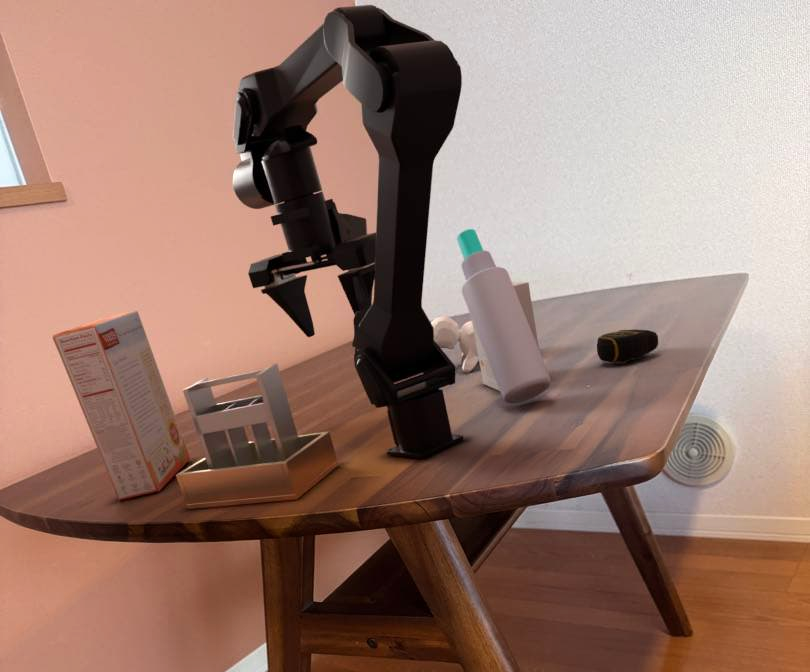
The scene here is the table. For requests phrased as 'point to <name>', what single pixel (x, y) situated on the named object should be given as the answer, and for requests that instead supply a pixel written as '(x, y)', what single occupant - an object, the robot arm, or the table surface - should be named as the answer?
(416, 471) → the table surface
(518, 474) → the table surface
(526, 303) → the small box
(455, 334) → the beige lumpy shape
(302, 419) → the table surface
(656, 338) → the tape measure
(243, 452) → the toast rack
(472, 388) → the table surface
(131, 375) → the cracker box
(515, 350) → the spray bottle
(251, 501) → the copper metal tray
